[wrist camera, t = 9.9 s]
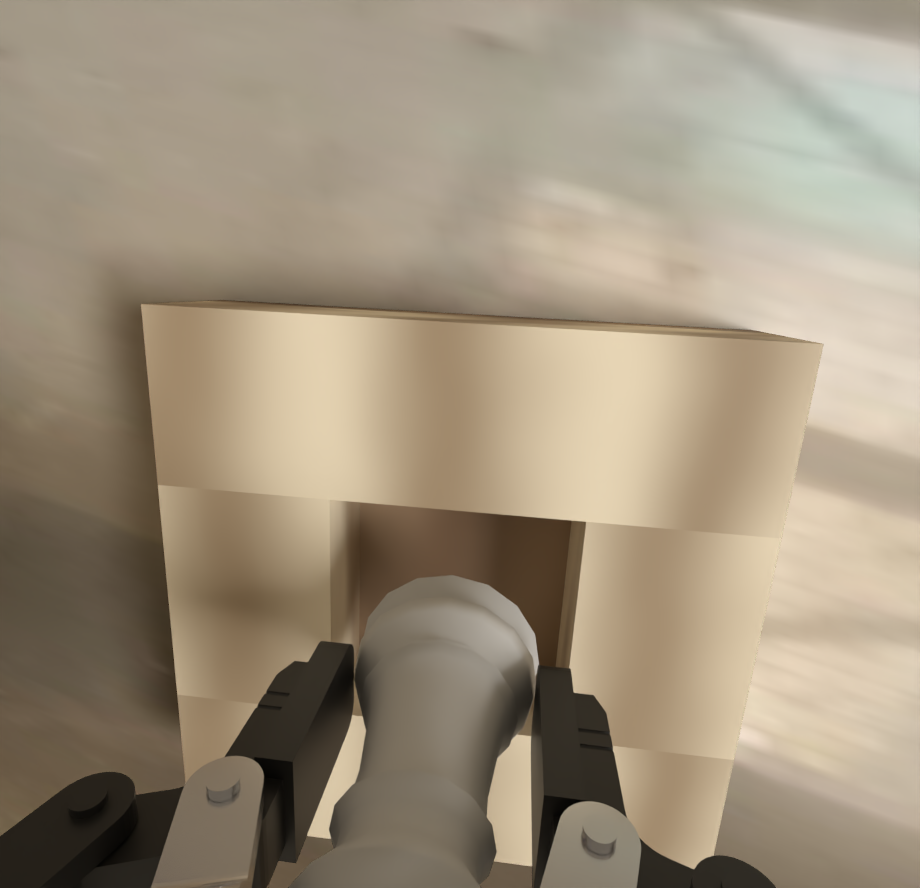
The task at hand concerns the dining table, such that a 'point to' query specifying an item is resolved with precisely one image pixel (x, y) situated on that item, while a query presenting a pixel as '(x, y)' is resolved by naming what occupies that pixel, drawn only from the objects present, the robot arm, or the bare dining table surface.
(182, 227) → the dining table surface
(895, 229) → the dining table surface
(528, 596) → the socket block
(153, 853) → the robot arm
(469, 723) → the rook chess piece
